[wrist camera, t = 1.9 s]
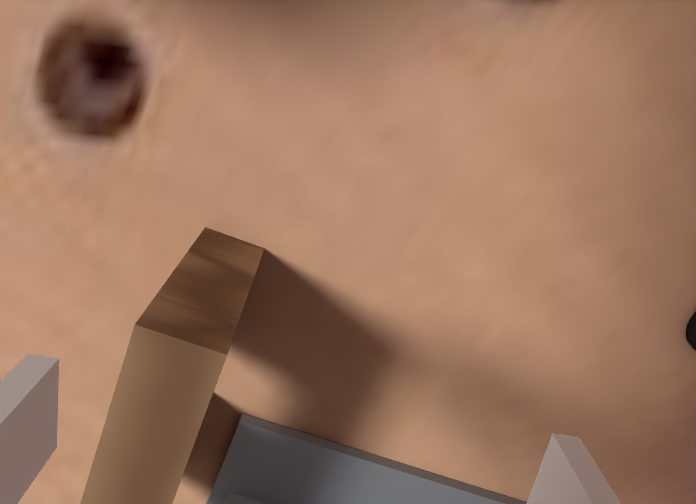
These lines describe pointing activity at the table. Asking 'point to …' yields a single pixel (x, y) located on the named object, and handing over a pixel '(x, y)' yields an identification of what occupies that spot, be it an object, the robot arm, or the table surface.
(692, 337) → the black and red tablet
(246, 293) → the brown rectangular block
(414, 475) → the stand board
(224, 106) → the table surface
